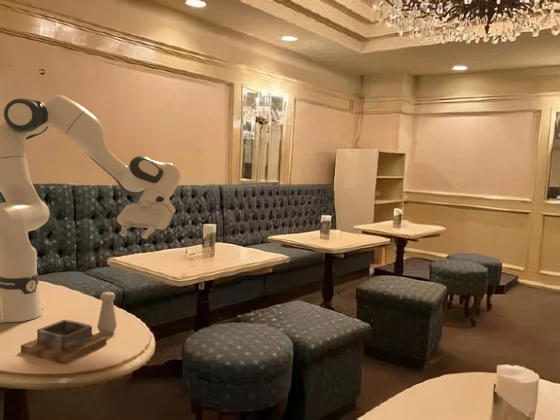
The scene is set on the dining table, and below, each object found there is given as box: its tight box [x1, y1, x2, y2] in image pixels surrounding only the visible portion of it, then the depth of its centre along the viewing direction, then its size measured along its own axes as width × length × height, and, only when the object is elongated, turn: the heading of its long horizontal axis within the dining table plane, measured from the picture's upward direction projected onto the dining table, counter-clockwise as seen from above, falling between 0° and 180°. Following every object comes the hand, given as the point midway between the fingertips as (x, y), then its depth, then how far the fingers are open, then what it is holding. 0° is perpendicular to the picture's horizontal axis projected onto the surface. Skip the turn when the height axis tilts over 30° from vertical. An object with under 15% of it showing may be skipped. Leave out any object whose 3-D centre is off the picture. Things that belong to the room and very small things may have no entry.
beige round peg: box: [96, 291, 118, 336], centre depth 154 cm, size 6×6×13 cm
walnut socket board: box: [20, 319, 107, 365], centre depth 141 cm, size 16×16×6 cm
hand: (132, 236), depth 161 cm, fingers open, 8 cm apart
